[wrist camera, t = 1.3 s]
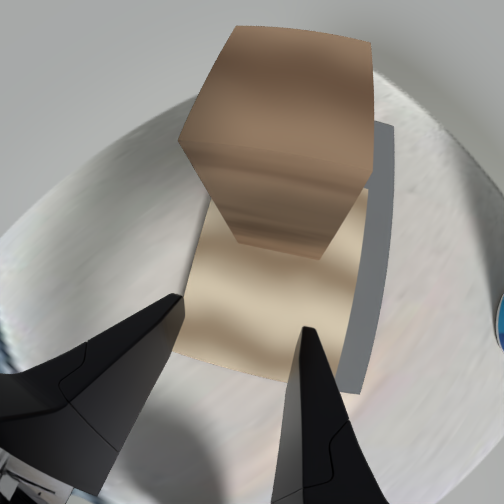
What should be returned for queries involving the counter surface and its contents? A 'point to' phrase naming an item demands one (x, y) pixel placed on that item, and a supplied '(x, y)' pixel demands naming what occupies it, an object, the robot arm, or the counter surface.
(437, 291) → the counter surface
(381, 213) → the rubber mat
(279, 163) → the walnut block
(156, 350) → the robot arm
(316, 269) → the birch board
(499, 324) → the beverage bottle
